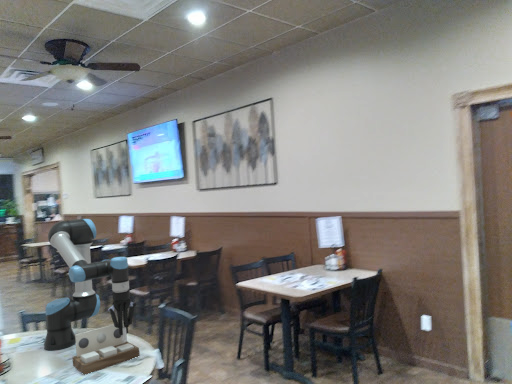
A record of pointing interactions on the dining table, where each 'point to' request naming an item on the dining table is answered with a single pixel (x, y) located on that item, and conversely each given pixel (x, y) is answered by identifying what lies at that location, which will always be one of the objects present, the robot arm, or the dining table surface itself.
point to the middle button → (107, 351)
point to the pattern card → (97, 339)
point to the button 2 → (125, 347)
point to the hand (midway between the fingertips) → (124, 341)
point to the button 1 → (89, 357)
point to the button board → (105, 360)
